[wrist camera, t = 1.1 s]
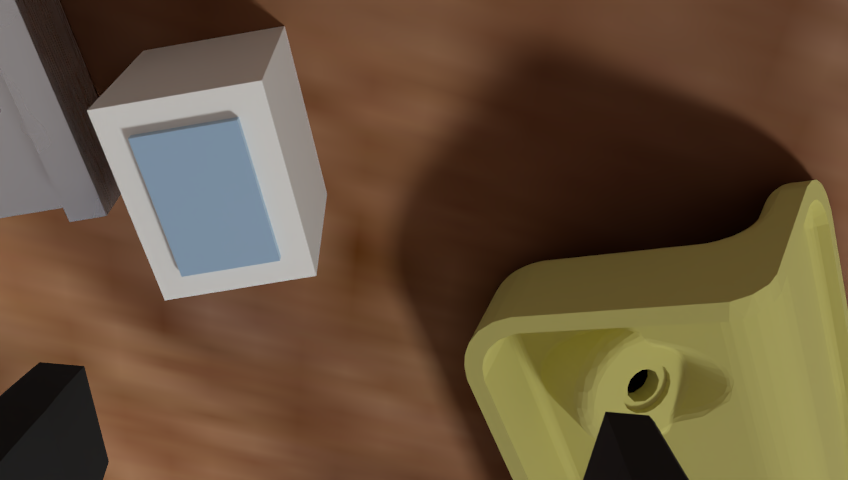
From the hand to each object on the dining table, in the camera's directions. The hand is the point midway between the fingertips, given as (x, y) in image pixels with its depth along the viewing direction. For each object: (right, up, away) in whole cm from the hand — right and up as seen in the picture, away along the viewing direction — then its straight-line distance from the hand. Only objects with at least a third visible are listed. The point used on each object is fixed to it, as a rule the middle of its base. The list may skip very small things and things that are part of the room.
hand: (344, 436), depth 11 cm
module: (-4, +6, +10) cm, 13 cm away
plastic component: (+10, -4, +17) cm, 20 cm away
